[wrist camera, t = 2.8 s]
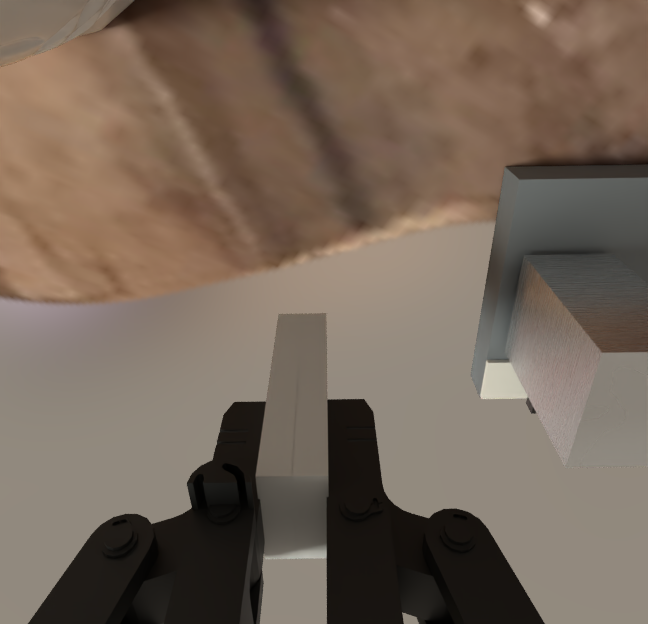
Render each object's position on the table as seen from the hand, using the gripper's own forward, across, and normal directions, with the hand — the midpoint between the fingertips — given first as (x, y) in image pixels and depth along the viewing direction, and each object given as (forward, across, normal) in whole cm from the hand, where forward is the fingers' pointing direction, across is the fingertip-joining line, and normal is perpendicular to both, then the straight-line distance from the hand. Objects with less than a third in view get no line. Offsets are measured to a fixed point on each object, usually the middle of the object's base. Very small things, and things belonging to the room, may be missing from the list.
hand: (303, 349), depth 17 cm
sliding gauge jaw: (+2, +9, -1) cm, 9 cm away
